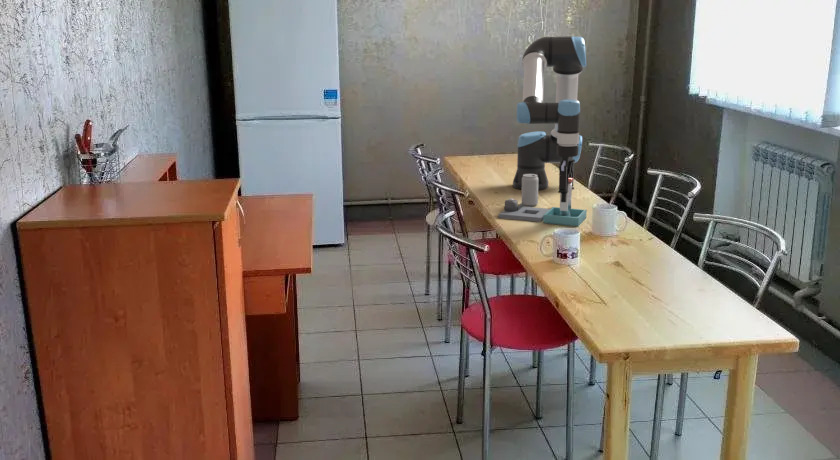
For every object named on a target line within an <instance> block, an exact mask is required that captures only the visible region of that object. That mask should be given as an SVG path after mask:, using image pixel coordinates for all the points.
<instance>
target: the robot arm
mask: <svg viewBox="0 0 840 460" xmlns="http://www.w3.org/2000/svg"><path fill="white" fill-rule="evenodd" d="M585 42H586V41H585V39H584V37H582V36H573V35H571V36H569V35H568V36H567V35H566V36H542V37H540V38H537V39H536V40H534V41H533V42H531V43H530V45H528V46H527V48H526V49H525V51H524V53H523V55H522V59H521V64H522V65H521V66H522V68H523V70H524V71H523V87H522V88H523V89H522V90H523V91H522V102H518V103H517V104H516V122H517V123H518V124H527V125H529V124H533V125H534V124H535V125H536V124H539V125H540V124H541V125H544V124H553V125H554V128H553V129H552V130H551V131H550V134H549V135H547V133H546V132H545V131H531V132H525V133H521V134H520V135H519V136H518V138H517V145H516V147H517V158H516V160H517V163H516V167H517V168H516V172H515V174H514V177H513V180H512V187H513V188H514V189H516V190H517V189H518V190H522V177H523V175H524V174H536V175H538V176H537V177H538V191H539V190H540V191H541V190H545V189H548V188H549V180H548V176H547V173H546V168H545V167H546V165H545V164H559V166H558V171H559V174H558V175H559V177H558V191H557V193H558V194H559V195H560V196H559V208H560V211H568V181H569V177H572V178H573V182H572V191H573V190H575V187H574V179H575V178H574V177H575V176H574V175H575V163H577V162H578V161H579V160H580V157H581V154H582V153H581V152H582V147H583V136H582V135H580V122H581V121H580V118H581V117H580V116H581V102H580V101H579V100H578V94H579V93H578V91H579V75H580V74H581V73H583V69H584V68H586V67H587V55H586V44H585ZM546 68H552V72H553V73H554V74H555V75H556V83H555V84H556V86H555V87H556V89H555V102H544V87H545V83H544V82H545V69H546Z"/></svg>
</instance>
